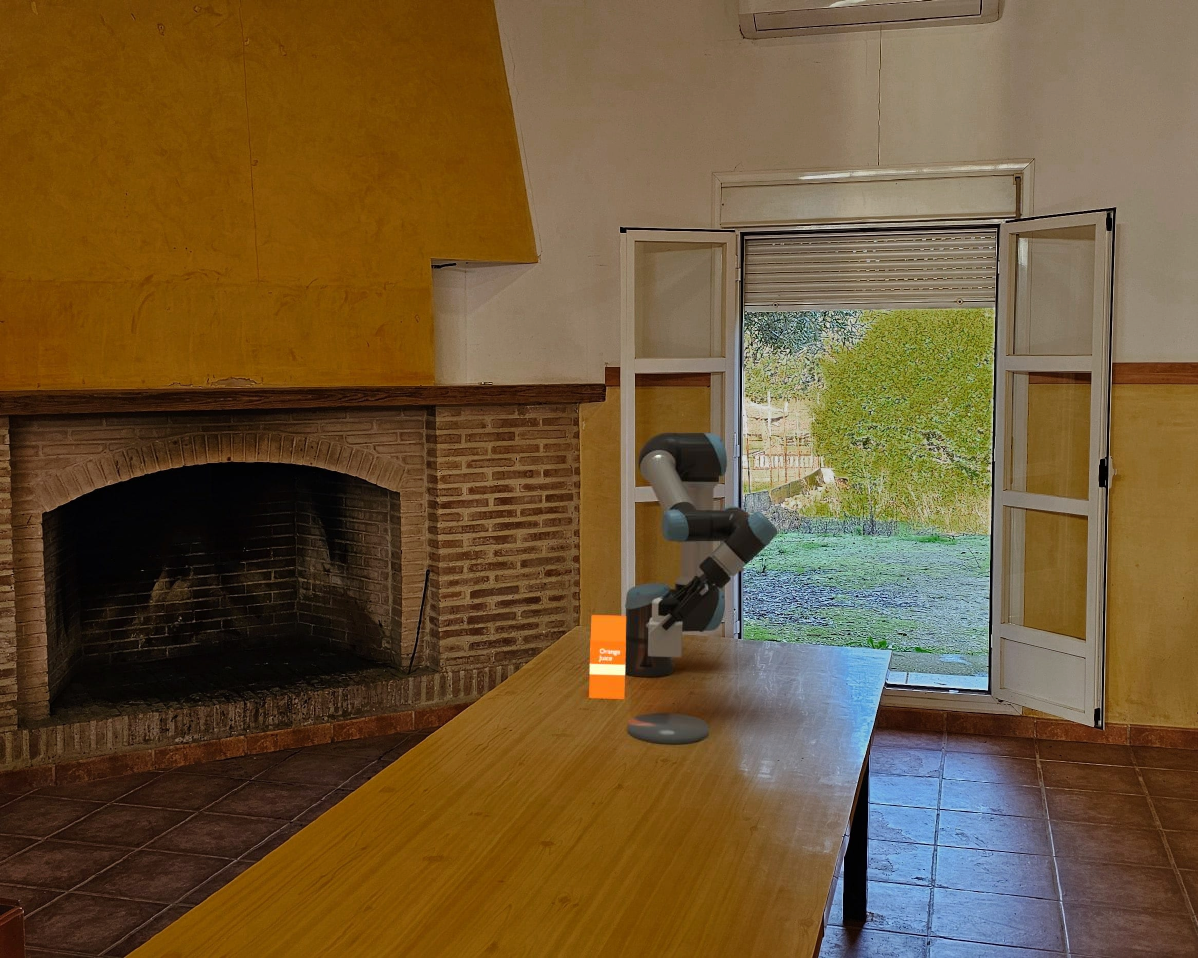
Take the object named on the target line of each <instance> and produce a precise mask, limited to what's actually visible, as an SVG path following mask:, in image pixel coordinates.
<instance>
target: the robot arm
mask: <svg viewBox="0 0 1198 958" xmlns="http://www.w3.org/2000/svg"><path fill="white" fill-rule="evenodd" d="M727 456H728V455H727V450H726V445H725V443H724V442H723V440H722V438H721V437H720V436H719V435H718V434H716V433H709V432H663V433H659V434H657V435H654V436H652V437H651V438H649V439H648V440H647V441H646V442H645V443H644V444H643V446H642V447H641V449H640V451H639V454H638V456H637V457H638V459H637V466H638V470H639V472H640V475H641V476H642V478H643V479H644V480H646V481H647V482H649V484H650V486H651V488H652V490H653V493H654V494H655V496H656V499H657V501H658V503H659V505H660V507H661V509H662V511H663V514H662V518H661V525H660V526H661V531H662V537H663V539H664V540H666V541H667V542H678V543H681V547H680V548H681V549H680V576H679V578H677V580H675V582H674V583H675V584H674V588H671V587H670V585H669V584H667V583H664V582H663V583H662V582H658V583H656V582H650V583H643V584H638V585H635V586H631V588H630V589H628V590H627V593H626V597H625V604H624V608H625V616H626V651H625V656H626V658H625V660H626V661H625V675H628V676H633V677H642V678H654V677H655V678H657V677H664V676H668V675H671V674H673V673H674V669H675V668H674V666H675V664H674V660H673V659H672V658H673V657H656V656H648V628H649V621H650V618H653V617H652V601H653V600H654V599H656V598H661V597H669V598H675V599H677V600H679V601H680V604H679V605H678V606H677V607H676V608H675V609H674V611H673V612H672V611H668V613H669V614H668V615H667V616H666V617H665V618H664V619H663V620H662V621H661V622H660V623H659V624H658V625H656V626H655V627H654V628H653V629H652V630H651V631H650V632H649V634H650V635H651V636H652V637H653V639H654V640H655V641H656V642H658V641H659V640H660V639H661V638H662V637H663V636H664V635H665V634H666V633H667V632H668V631H669V630H670V629H671V628H672V627H673V626H674V625H675V624H676V623H677V622H679V621H680V622H682V633H685V632H687V633H688V632H700V633H704V632H709V631H711V632H712V631H716V630H717V629H718V628H719V627H720V625H721V623H722V621H723V619H724V615H725V609H726V599H725V592H724V590H723V588H724V587H725V586H726V585H727V584H728V583H729V582H730V581H731V579H732V578H731V576H733V577H735V576H736V575H737V574H738V573H739V572H740V573H741V572H744V570H745V569H744V567H745V566H746V565H748V564H749V562H751V561H752V560H753V559H754V558H755V557H756V556H758V554H760V553H761V552H762V550H764V549H765V547H767V546H769V545H770V543H771V541H773V539H774V538H775V537H776V536H777V535H778V528H777V527H776V526H775V525H774V524H773V522H771V520H770V519H769V518H768V517H766V516H765V514H764V513H762V512H761V511H758V510H757V511H754V512H753V513H752V514H751V515H750V514H749V513H748V512H747V511H746V510H744V509H743V508H741V507H739V506H736V505H730V506H727V507H725V508H723V509H720V510H719V509H714V490H715V488H716V487H717V486H718V485H719V483H720V478H721V477H723V476H725V475H726V473H727V467H728V457H727ZM713 542H721V544H719V545H718V546H717V547H716V548H715V549H714V550H713V547H714V545H713V544H714V543H713Z"/></svg>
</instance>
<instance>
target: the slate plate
mask: <svg viewBox="0 0 1198 958" xmlns="http://www.w3.org/2000/svg"><path fill="white" fill-rule="evenodd" d="M627 722H628V723H627V732H628V734H629V735H630V736H632V737H634V739H635V738H636V739H637V740H641V741H644V742H648V743H652V744H659V743H660V744H661V745H686V744H693V743H697V742H700V741H703V740H705V739H706V738H707V737H708V736H709V724H708V723H707V722H706V721H705V720H702V719H700V718H698V717H695V716H691V715H687V714H681V713H668V712H657V713H656V712H654V713H646V714H641V715H638V716H634V717H633V718H631V719H629V720H628V721H627Z"/></svg>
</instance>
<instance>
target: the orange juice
mask: <svg viewBox="0 0 1198 958" xmlns="http://www.w3.org/2000/svg"><path fill="white" fill-rule="evenodd" d="M590 627H591V629H590V645H589V647H590V648H589V653H590V654H589V690H588V692H589V693H588V697H589V699H609V700H610V699H612V700H613V699H615V700H625V689H626V687H625V685H626V683H625V682H626V680H625V679H626V674H625V661H626V660H625V658H626V656H625V651H626V615H607V614H606V615H602V614H600V615H599V614H591V625H590Z"/></svg>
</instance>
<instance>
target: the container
mask: <svg viewBox="0 0 1198 958" xmlns="http://www.w3.org/2000/svg"><path fill="white" fill-rule="evenodd" d="M679 604H680V601H679V600H677V599H675V598H669V597H661V598H656V599H654V600H653V601H652V617H653V618H650V621H649V628H648V656H656V657H671V658H681V657H682V655H683V654H682V653H683V632H682V622H680V621H679V622H677V623H676V624H675V625H674V626H673V627H672V628H671V629H670V630H669V631H668V632H667V633H666V634H665V635H664V636H663V637H662V638H661V639H660V640H659V641H658V642H656V641H655V640H654V639H653V637H652V636H651V635H650V634H649V632H650V631H651V630H652V629H653V628H654V627H655V626H656V625H658V624H659V623H660V622H661V621H662V620H663V619H664V618H665V617H666V616H667V615H668V614H669V613H668V611H672V612H673V611H674V609H675V608H676V607H677V606H678V605H679Z"/></svg>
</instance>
